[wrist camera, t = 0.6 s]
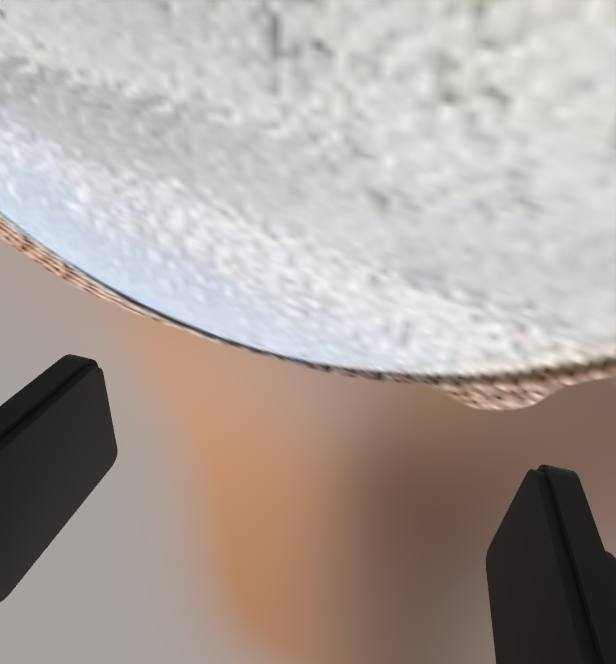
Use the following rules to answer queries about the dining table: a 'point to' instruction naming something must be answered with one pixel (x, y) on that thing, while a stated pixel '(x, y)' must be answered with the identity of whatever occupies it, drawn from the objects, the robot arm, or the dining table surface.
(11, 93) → the dining table surface
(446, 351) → the dining table surface
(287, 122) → the dining table surface
